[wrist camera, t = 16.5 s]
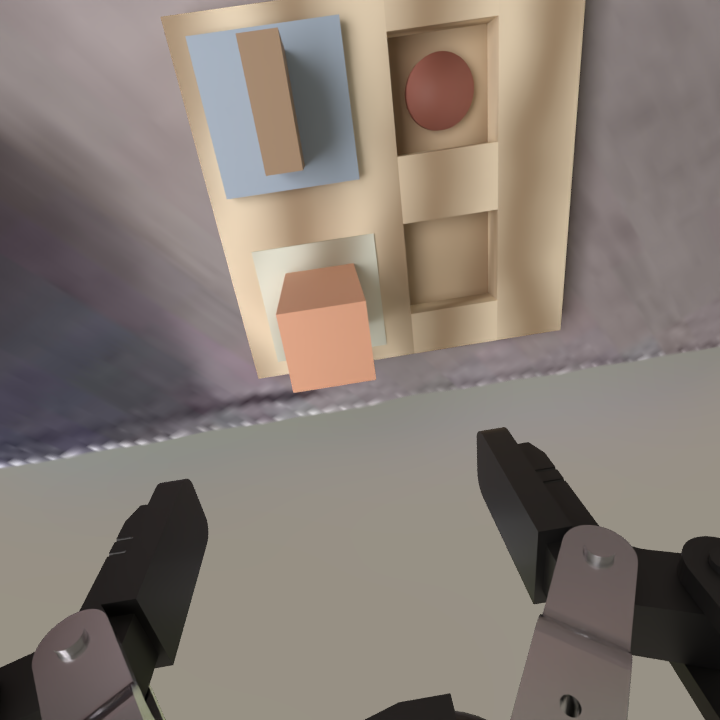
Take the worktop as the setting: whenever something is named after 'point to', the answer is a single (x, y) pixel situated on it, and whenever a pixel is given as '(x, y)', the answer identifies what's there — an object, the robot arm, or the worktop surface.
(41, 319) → the worktop surface
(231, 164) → the lid
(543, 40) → the board
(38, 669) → the robot arm
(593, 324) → the worktop surface
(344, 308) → the block
